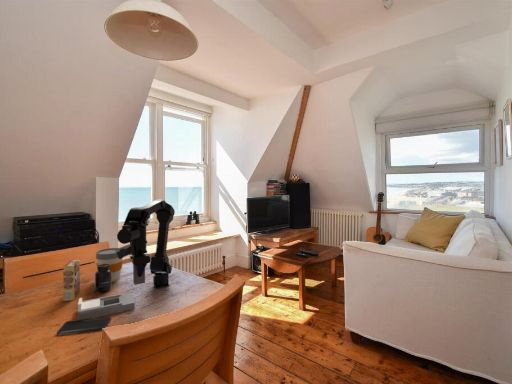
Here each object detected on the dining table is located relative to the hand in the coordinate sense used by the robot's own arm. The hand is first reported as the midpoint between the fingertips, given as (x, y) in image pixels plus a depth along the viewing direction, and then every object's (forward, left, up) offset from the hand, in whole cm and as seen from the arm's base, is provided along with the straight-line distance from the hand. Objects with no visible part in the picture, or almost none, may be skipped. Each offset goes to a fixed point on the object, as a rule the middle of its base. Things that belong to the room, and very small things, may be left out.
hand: (139, 275), depth 107 cm
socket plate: (+12, -3, -13) cm, 17 cm away
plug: (0, 0, -3) cm, 3 cm away
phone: (+18, +8, -13) cm, 24 cm away
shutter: (+18, -3, -10) cm, 20 cm away
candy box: (+25, -23, -13) cm, 36 cm away
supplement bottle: (+13, -24, -13) cm, 30 cm away
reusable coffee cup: (+10, -38, -13) cm, 41 cm away
